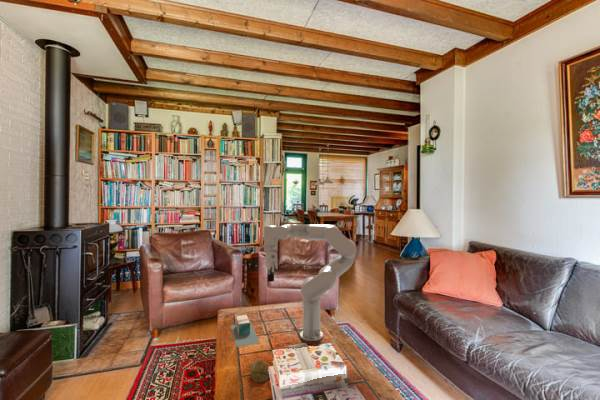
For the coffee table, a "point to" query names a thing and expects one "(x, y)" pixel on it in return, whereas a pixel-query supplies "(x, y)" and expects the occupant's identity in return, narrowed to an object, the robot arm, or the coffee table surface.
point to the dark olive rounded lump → (259, 371)
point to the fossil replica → (298, 345)
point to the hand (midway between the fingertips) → (270, 281)
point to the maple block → (243, 324)
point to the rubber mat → (244, 337)
